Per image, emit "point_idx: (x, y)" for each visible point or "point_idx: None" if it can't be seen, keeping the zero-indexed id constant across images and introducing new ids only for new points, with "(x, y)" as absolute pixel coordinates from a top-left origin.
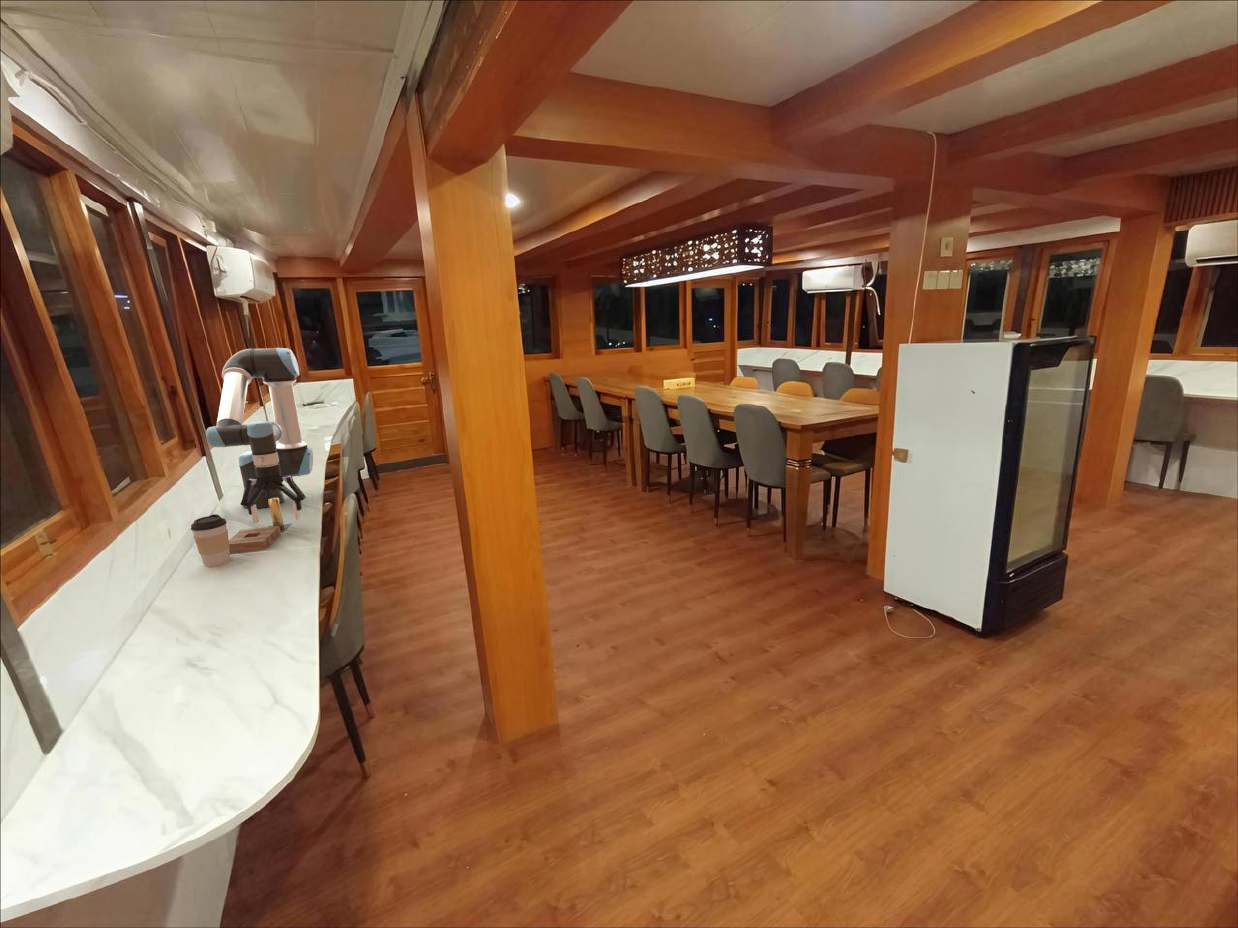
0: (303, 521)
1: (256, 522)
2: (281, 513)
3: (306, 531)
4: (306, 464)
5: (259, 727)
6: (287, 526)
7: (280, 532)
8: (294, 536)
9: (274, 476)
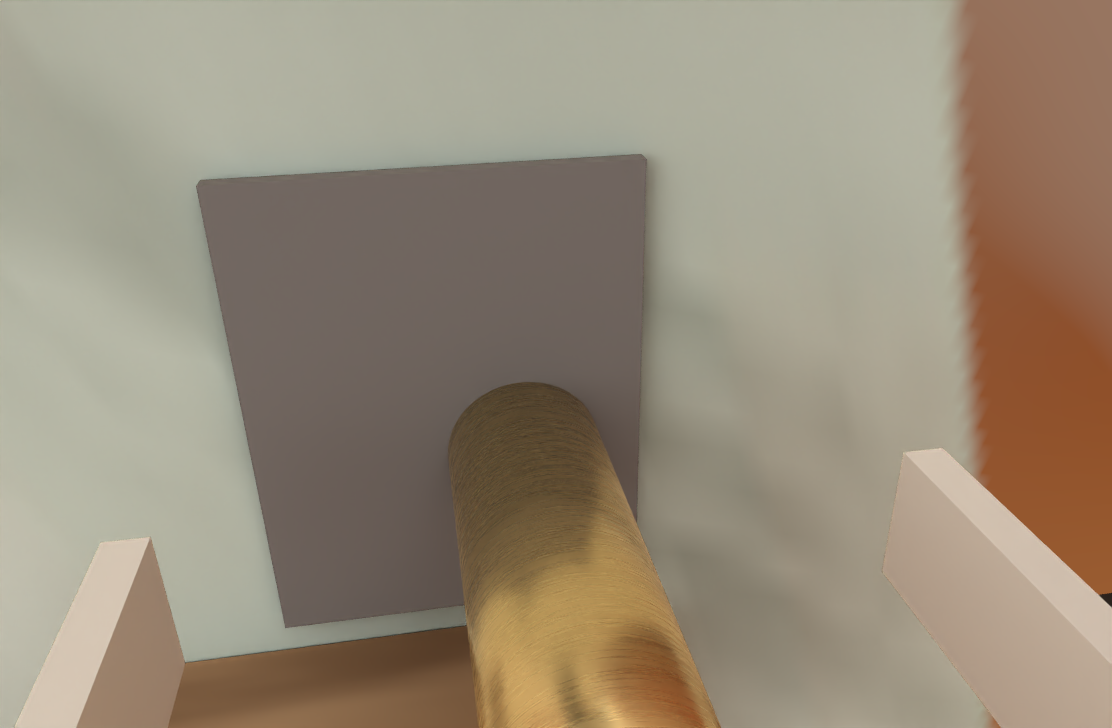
0: (808, 3)
1: (174, 663)
2: (680, 632)
3: None
4: None
5: None
6: (607, 312)
7: None
8: (798, 662)
9: None
